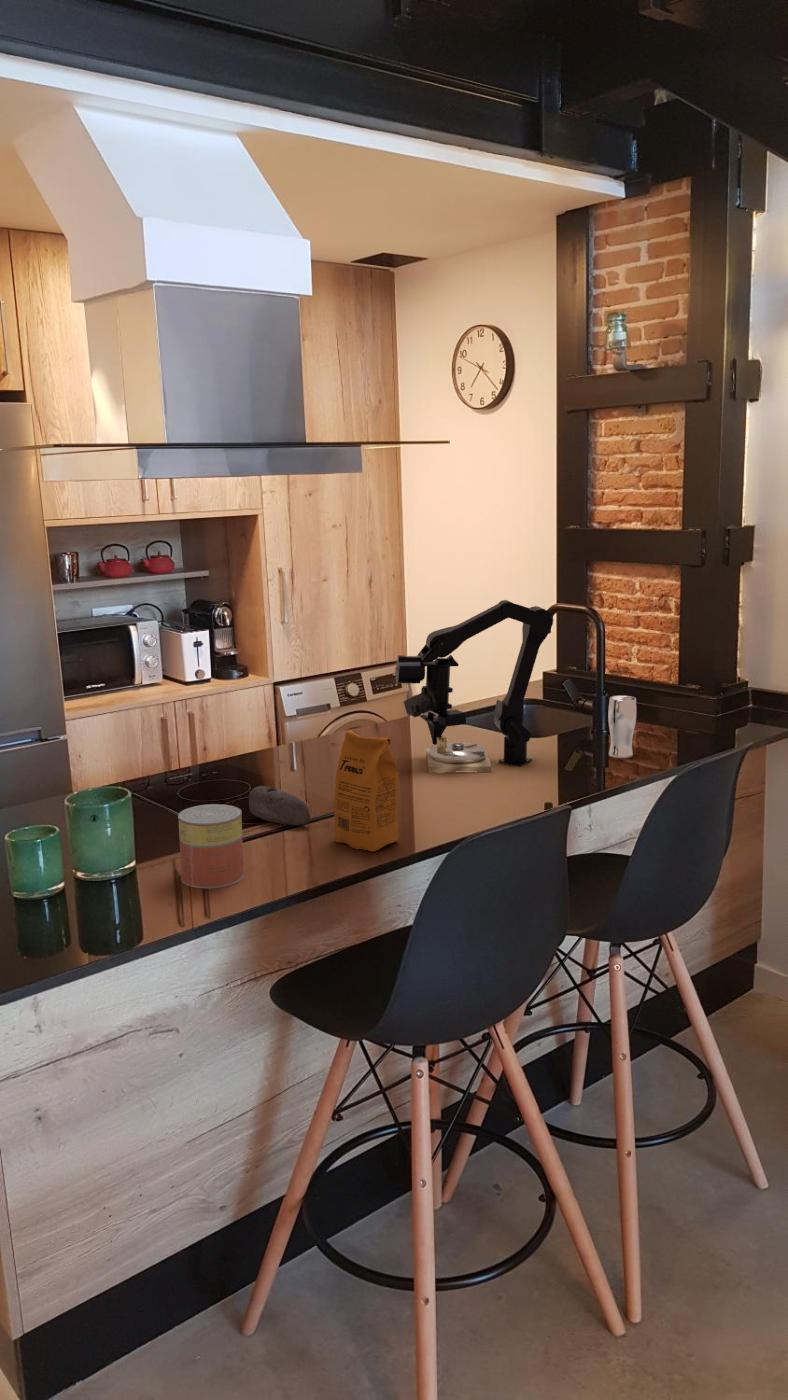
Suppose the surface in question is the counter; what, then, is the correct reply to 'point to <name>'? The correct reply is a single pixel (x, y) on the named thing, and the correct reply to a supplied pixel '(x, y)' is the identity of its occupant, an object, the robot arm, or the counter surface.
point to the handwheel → (456, 751)
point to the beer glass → (621, 725)
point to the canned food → (211, 845)
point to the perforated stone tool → (278, 806)
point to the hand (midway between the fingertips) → (435, 744)
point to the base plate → (458, 765)
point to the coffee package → (366, 793)
